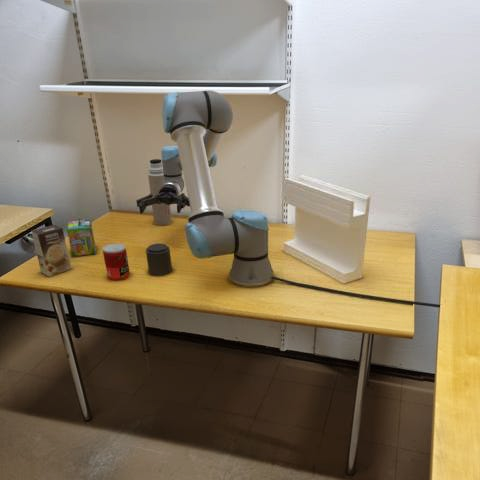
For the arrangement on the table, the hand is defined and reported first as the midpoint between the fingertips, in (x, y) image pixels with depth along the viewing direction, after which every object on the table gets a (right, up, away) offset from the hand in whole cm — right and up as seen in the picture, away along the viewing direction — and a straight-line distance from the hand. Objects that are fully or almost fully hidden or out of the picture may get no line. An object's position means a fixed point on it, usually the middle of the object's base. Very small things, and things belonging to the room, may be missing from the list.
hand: (159, 209), depth 172 cm
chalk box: (-34, -12, +20) cm, 41 cm away
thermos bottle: (-6, +5, +48) cm, 49 cm away
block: (+58, -19, +3) cm, 61 cm away
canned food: (-14, -24, -1) cm, 28 cm away
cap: (0, -22, +2) cm, 22 cm away
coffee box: (-39, -22, +5) cm, 45 cm away
